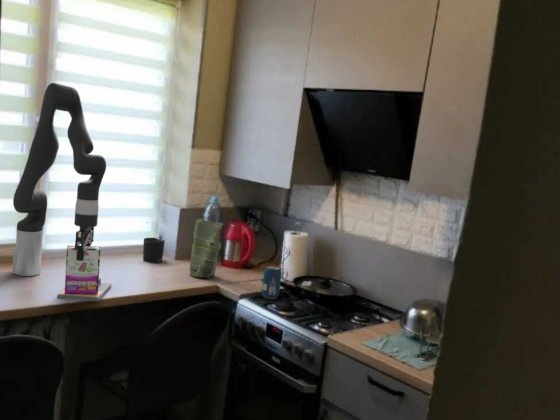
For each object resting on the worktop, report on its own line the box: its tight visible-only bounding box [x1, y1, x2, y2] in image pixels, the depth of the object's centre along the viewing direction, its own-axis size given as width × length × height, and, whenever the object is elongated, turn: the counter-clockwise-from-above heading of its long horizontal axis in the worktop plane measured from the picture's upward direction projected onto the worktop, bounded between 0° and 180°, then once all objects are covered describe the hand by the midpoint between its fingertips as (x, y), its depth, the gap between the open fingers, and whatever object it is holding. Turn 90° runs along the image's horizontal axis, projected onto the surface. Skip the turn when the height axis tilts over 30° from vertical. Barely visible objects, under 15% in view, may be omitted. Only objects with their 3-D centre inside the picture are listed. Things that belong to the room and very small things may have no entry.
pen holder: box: [142, 237, 165, 264], centre depth 263 cm, size 9×9×10 cm
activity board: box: [56, 277, 112, 302], centre depth 205 cm, size 14×19×3 cm
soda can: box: [261, 265, 282, 300], centre depth 224 cm, size 7×7×12 cm
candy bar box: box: [64, 245, 101, 294], centre depth 199 cm, size 11×5×16 cm, turn 109°
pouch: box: [189, 218, 224, 279], centre depth 244 cm, size 11×12×25 cm
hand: (83, 257), depth 198 cm, fingers open, 8 cm apart
